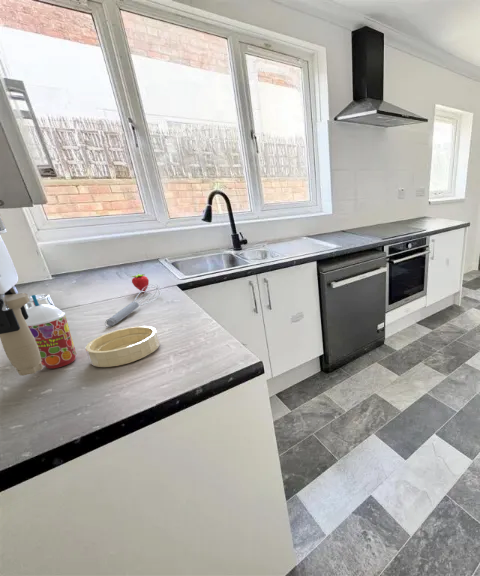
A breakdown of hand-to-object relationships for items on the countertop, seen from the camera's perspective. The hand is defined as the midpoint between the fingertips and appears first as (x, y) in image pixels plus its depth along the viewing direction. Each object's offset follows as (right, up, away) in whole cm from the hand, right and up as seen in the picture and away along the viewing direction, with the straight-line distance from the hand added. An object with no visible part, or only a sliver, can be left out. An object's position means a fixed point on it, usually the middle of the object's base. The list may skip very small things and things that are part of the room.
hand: (11, 325), depth 56 cm
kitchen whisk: (-28, -2, +65) cm, 71 cm away
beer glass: (-36, -10, +40) cm, 55 cm away
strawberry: (-42, +5, +84) cm, 94 cm away
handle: (0, -9, +3) cm, 10 cm away
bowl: (-6, -12, +33) cm, 36 cm away
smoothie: (-21, -14, +29) cm, 38 cm away
